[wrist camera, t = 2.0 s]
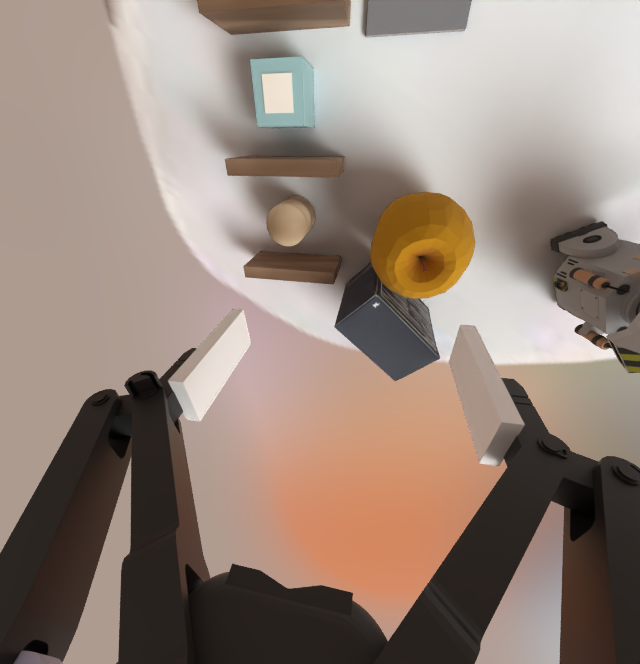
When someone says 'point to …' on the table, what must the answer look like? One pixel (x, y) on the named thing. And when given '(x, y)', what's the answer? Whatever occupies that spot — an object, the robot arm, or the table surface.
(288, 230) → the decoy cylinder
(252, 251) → the table surface
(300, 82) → the letter cube
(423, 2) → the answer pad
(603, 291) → the figurine
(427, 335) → the small box
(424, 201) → the apple
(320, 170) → the divider rack
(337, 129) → the table surface
